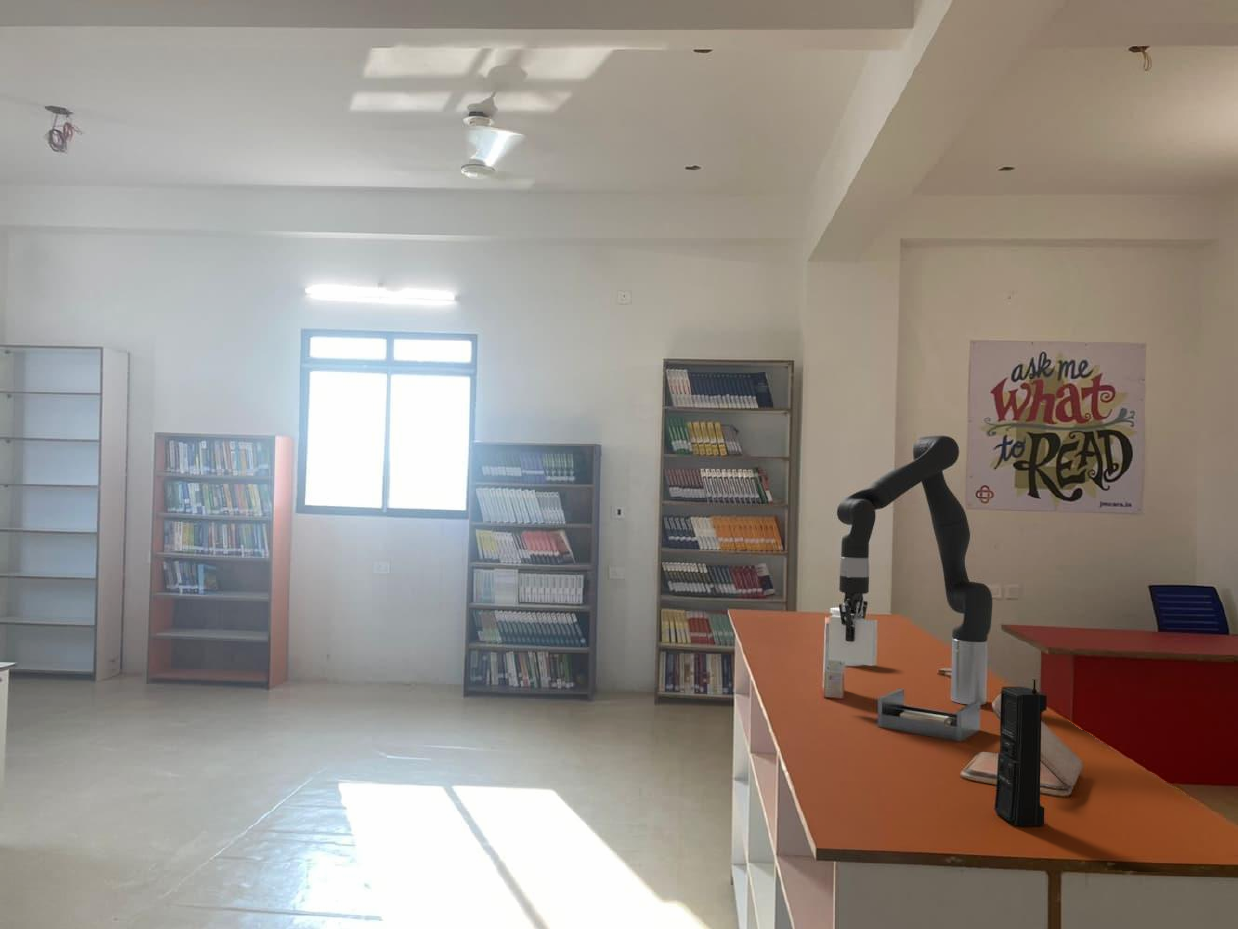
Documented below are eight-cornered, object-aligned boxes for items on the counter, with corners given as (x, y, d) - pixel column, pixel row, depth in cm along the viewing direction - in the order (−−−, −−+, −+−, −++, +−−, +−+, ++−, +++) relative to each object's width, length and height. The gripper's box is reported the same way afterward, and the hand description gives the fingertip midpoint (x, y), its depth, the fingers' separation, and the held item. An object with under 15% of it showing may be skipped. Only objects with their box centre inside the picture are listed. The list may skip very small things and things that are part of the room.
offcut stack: (904, 725, 233) (904, 709, 233) (951, 732, 227) (951, 716, 227) (898, 731, 227) (899, 714, 227) (947, 738, 222) (947, 721, 222)
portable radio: (989, 811, 169) (992, 671, 170) (1021, 811, 169) (1024, 671, 170) (1011, 826, 161) (1014, 680, 162) (1045, 827, 162) (1048, 680, 162)
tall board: (833, 658, 251) (834, 615, 252) (876, 664, 244) (877, 620, 244) (828, 659, 249) (829, 616, 249) (871, 666, 242) (873, 621, 242)
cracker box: (845, 700, 259) (847, 623, 259) (822, 698, 260) (824, 622, 260) (843, 689, 272) (845, 617, 273) (822, 688, 274) (824, 616, 274)
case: (1072, 801, 177) (1074, 715, 177) (956, 779, 188) (959, 699, 189) (1084, 776, 194) (1086, 698, 195) (977, 758, 205) (979, 684, 206)
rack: (899, 716, 241) (900, 688, 241) (980, 730, 229) (980, 701, 229) (877, 726, 229) (878, 697, 229) (960, 741, 217) (961, 711, 217)
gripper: (851, 572, 255) (849, 636, 254) (829, 574, 244) (827, 641, 243) (878, 574, 250) (876, 639, 250) (857, 577, 239) (855, 645, 239)
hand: (852, 640), depth 247 cm, fingers closed on tall board, 3 cm apart
